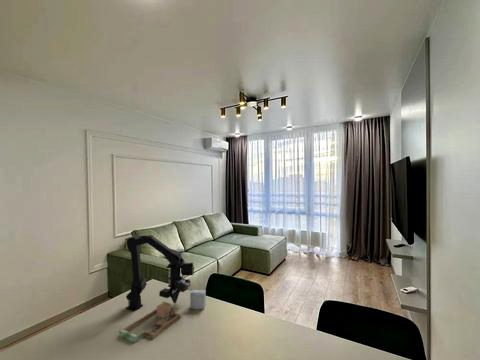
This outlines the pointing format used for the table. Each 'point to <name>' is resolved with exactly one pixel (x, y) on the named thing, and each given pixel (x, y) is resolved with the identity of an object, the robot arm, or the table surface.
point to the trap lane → (159, 325)
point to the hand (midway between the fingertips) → (174, 303)
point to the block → (163, 309)
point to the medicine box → (198, 299)
